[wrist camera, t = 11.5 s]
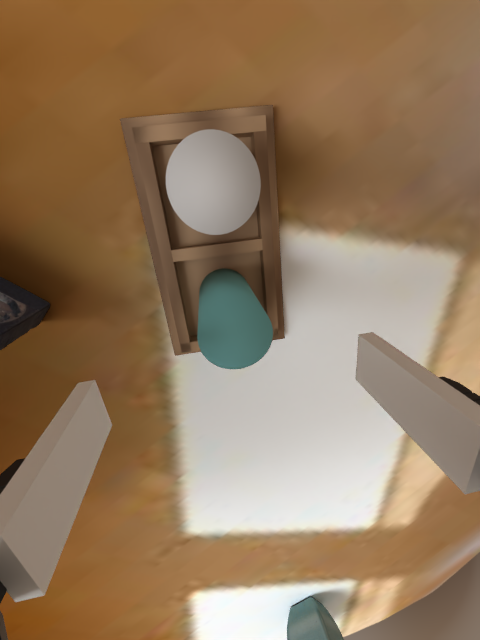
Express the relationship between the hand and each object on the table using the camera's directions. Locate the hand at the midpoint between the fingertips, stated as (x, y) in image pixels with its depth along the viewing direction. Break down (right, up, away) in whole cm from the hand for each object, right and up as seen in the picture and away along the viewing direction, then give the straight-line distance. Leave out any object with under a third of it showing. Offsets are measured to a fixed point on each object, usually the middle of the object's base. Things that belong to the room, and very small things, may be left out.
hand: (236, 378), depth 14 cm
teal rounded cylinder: (-1, +6, +13) cm, 15 cm away
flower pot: (+14, -55, +41) cm, 70 cm away
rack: (-2, +10, +13) cm, 16 cm away
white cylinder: (-2, +14, +10) cm, 17 cm away
